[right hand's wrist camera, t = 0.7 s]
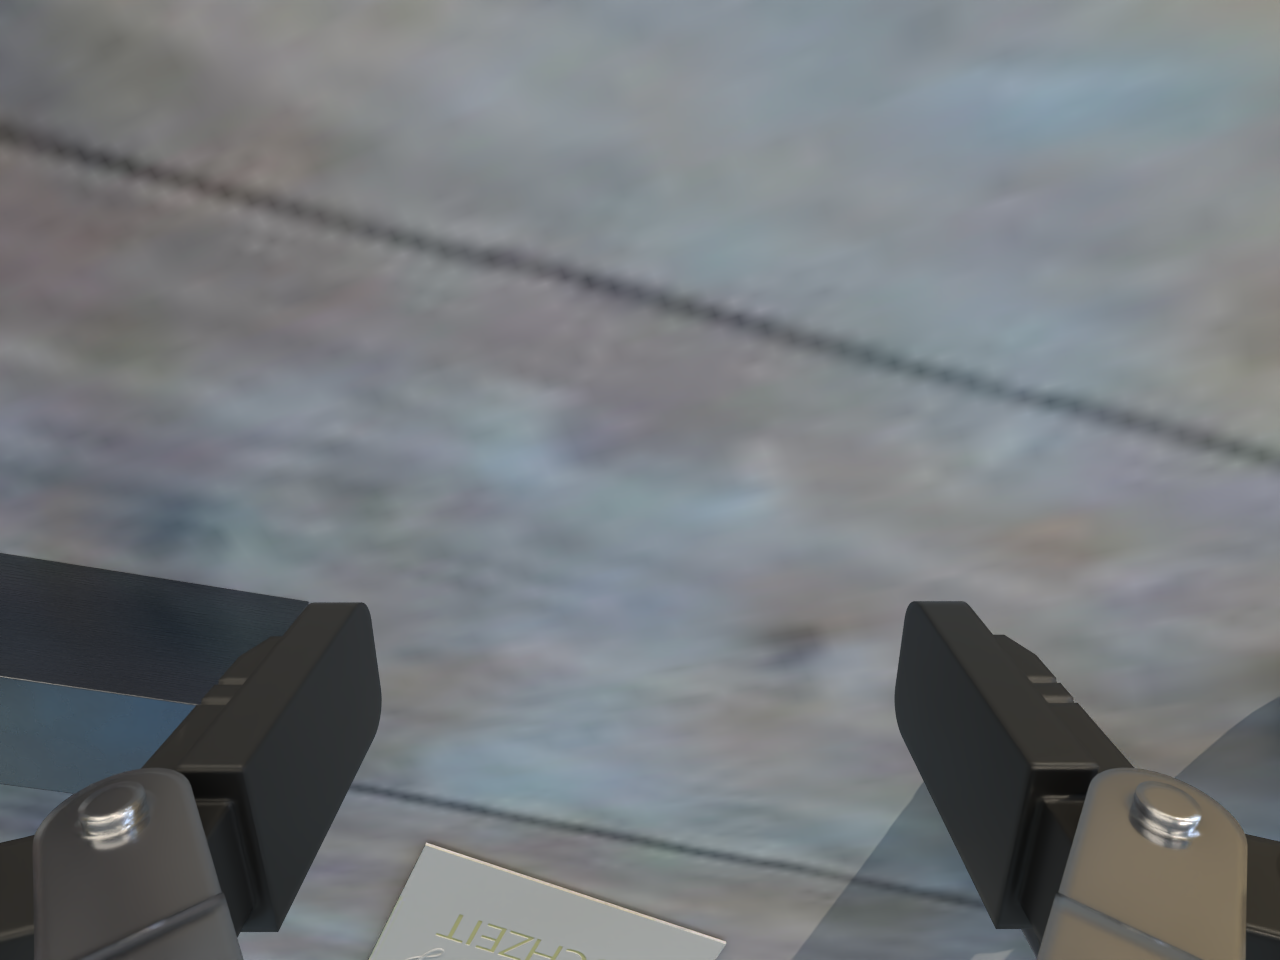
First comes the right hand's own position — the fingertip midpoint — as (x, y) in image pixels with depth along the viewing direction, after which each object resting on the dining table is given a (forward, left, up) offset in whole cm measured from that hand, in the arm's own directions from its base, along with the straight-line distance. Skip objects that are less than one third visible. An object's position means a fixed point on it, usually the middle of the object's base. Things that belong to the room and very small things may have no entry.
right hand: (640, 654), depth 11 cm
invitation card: (-32, +30, -27) cm, 52 cm away
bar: (+4, +33, -27) cm, 43 cm away
